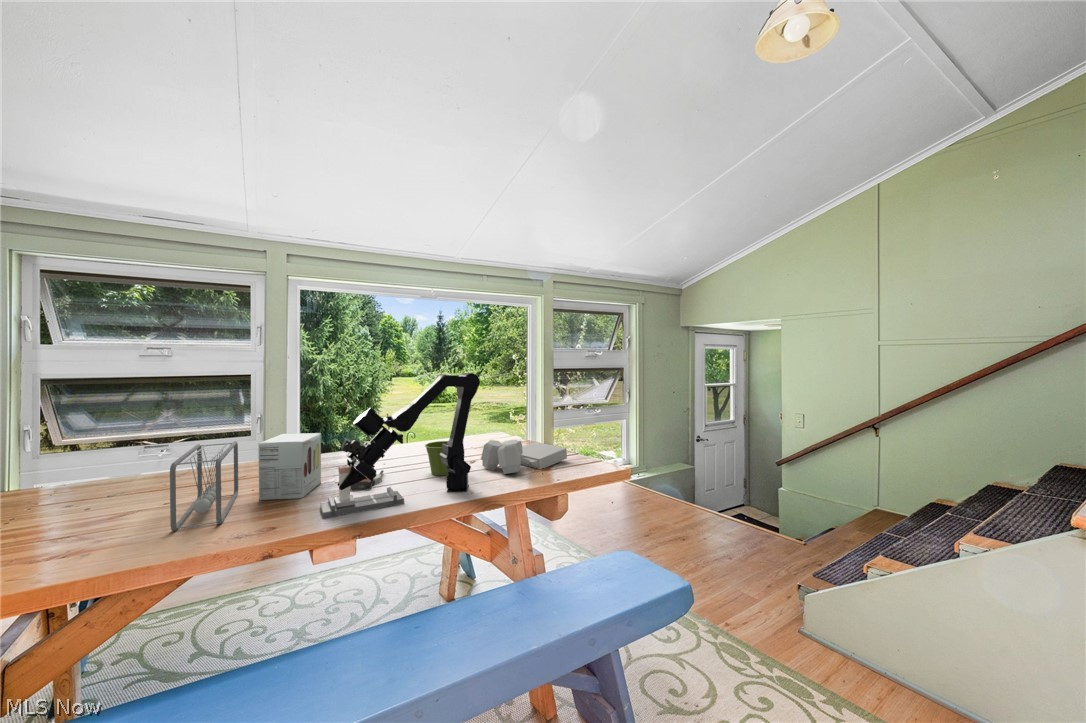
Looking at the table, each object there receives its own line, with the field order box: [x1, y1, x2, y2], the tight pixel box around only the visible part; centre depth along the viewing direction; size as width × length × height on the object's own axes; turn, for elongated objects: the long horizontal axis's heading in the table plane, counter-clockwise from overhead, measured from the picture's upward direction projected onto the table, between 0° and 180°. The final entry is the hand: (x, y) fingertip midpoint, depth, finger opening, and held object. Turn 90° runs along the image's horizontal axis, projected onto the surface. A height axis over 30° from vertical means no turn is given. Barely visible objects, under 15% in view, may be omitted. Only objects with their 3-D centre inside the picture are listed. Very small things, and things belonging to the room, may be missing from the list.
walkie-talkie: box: [350, 469, 385, 491], centre depth 152 cm, size 9×4×20 cm
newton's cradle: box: [169, 441, 239, 532], centre depth 124 cm, size 30×10×18 cm, turn 28°
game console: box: [480, 439, 568, 475], centre depth 175 cm, size 20×32×13 cm, turn 135°
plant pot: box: [424, 440, 449, 476], centre depth 164 cm, size 12×12×11 cm
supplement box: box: [258, 432, 322, 501], centre depth 142 cm, size 17×13×18 cm
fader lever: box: [333, 464, 355, 508], centre depth 125 cm, size 5×6×11 cm
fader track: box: [319, 486, 405, 519], centre depth 128 cm, size 22×9×3 cm, turn 122°
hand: (339, 487), depth 125 cm, fingers closed on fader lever, 3 cm apart
